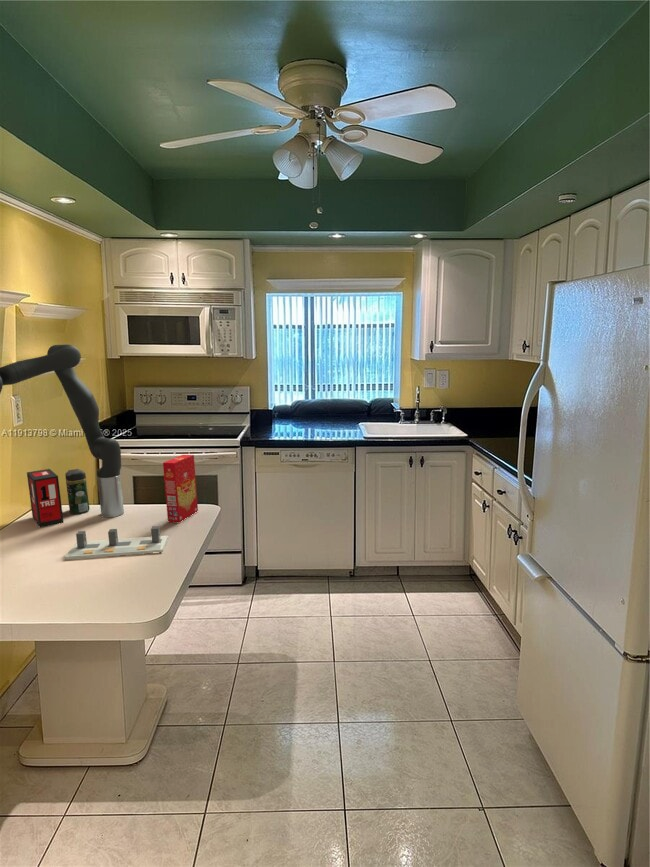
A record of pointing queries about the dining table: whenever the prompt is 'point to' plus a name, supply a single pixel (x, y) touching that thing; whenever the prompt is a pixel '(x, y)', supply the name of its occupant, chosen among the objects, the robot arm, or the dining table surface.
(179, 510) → the food packaging
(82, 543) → the switch
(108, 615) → the dining table surface
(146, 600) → the dining table surface
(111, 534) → the middle switch
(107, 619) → the dining table surface
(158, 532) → the switch
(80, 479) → the coffee jar
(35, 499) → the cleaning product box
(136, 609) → the dining table surface
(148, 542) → the switch panel
